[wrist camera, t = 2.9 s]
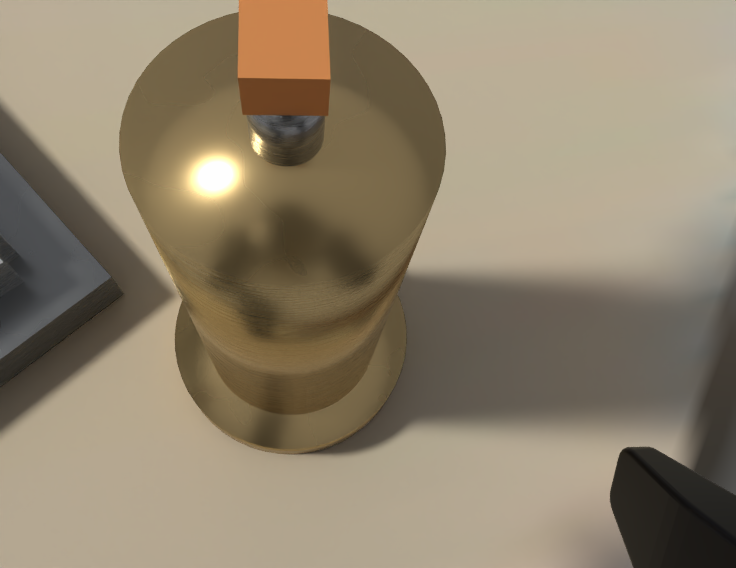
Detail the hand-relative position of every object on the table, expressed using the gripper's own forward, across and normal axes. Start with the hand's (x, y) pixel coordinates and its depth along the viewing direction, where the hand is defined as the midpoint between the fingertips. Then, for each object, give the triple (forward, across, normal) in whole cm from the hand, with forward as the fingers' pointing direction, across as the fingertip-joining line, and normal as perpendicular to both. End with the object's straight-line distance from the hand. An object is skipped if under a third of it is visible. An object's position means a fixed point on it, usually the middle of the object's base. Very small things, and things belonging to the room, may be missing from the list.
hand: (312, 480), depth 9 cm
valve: (+12, 0, +4) cm, 13 cm away
